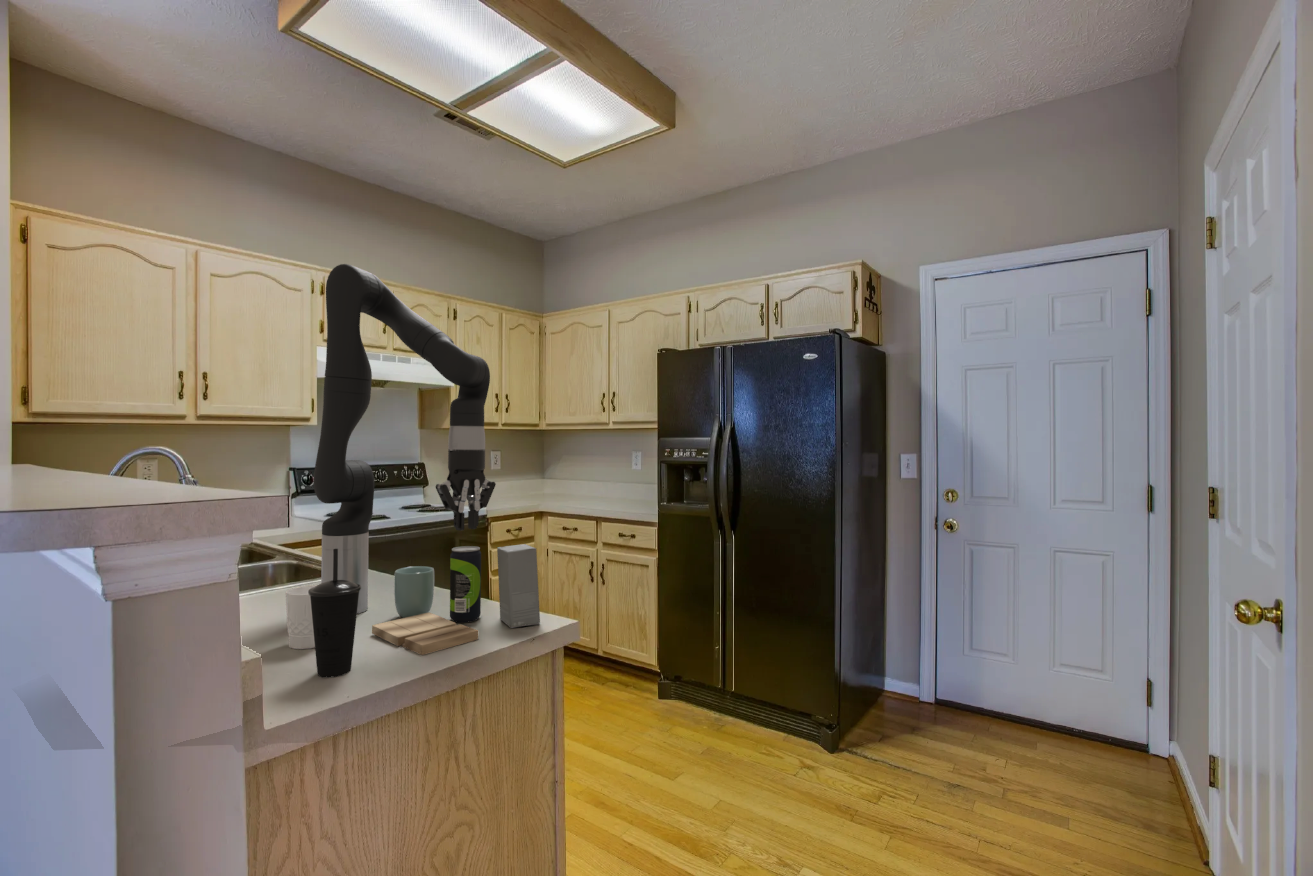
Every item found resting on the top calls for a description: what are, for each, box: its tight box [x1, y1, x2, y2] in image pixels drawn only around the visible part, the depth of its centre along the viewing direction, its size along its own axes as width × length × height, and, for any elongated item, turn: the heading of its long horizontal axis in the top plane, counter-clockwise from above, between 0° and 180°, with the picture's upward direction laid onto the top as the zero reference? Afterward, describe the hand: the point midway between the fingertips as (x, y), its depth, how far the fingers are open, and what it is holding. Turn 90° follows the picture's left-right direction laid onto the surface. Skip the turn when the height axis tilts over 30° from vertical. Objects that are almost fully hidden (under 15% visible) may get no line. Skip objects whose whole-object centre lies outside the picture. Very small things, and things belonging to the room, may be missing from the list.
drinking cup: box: [308, 549, 361, 679], centre depth 100 cm, size 8×8×20 cm
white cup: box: [285, 584, 318, 650], centre depth 114 cm, size 8×8×10 cm
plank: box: [371, 611, 457, 647], centre depth 120 cm, size 10×12×2 cm
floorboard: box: [401, 623, 479, 656], centre depth 115 cm, size 7×12×2 cm, turn 140°
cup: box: [393, 565, 435, 618], centre depth 132 cm, size 8×8×10 cm
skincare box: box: [496, 543, 541, 629], centre depth 129 cm, size 8×7×16 cm
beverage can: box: [449, 545, 482, 624], centre depth 130 cm, size 6×6×15 cm
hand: (466, 529), depth 130 cm, fingers open, 2 cm apart
